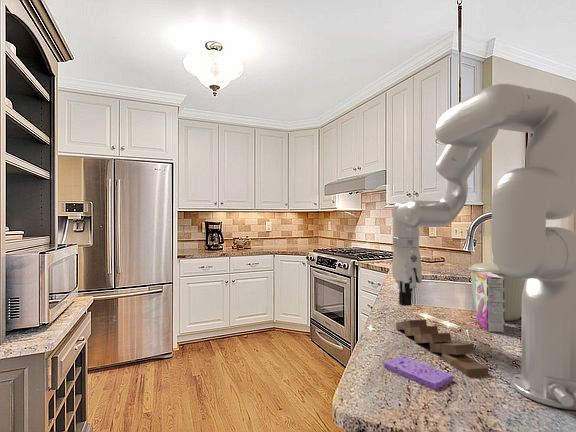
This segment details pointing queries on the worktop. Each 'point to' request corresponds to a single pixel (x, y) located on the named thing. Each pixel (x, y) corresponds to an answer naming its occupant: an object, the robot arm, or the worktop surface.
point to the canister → (511, 289)
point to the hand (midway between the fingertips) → (405, 304)
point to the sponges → (418, 372)
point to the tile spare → (465, 364)
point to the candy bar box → (490, 301)
